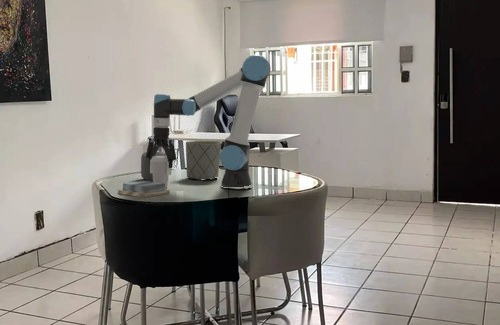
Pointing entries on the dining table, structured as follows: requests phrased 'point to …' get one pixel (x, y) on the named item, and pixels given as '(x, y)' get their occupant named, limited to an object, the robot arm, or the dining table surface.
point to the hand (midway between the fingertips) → (160, 173)
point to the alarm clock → (146, 168)
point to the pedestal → (143, 189)
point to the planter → (202, 159)
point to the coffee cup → (160, 169)
